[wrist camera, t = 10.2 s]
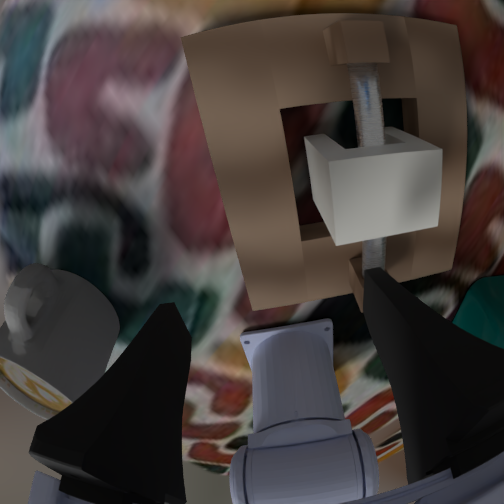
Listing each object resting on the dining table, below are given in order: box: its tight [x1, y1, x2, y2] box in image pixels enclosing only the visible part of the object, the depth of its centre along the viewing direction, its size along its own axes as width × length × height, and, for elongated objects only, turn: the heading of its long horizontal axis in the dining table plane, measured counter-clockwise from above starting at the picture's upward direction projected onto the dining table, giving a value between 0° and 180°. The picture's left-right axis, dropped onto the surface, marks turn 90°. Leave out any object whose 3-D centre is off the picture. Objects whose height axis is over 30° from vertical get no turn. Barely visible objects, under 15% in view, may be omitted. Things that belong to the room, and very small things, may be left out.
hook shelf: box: [181, 13, 467, 313], centre depth 15 cm, size 18×16×5 cm
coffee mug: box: [0, 263, 120, 420], centre depth 19 cm, size 13×10×10 cm
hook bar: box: [347, 63, 387, 279], centre depth 14 cm, size 14×1×1 cm, turn 12°
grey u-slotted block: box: [304, 127, 442, 246], centre depth 14 cm, size 4×6×6 cm
